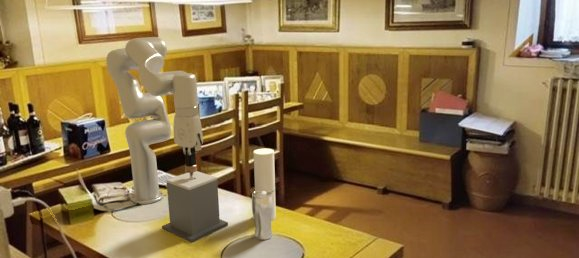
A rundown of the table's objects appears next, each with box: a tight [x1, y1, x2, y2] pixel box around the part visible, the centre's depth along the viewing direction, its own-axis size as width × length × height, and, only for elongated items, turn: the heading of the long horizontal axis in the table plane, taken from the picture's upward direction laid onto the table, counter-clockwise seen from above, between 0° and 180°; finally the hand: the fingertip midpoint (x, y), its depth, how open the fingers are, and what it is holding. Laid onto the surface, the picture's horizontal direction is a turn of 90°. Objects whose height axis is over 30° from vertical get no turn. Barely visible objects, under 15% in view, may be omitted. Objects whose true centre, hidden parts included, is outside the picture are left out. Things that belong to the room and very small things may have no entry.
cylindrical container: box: [253, 147, 277, 221], centre depth 169 cm, size 7×7×25 cm
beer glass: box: [251, 190, 273, 241], centre depth 157 cm, size 7×7×15 cm
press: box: [161, 170, 229, 244], centre depth 164 cm, size 16×17×18 cm
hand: (191, 165), depth 160 cm, fingers closed
